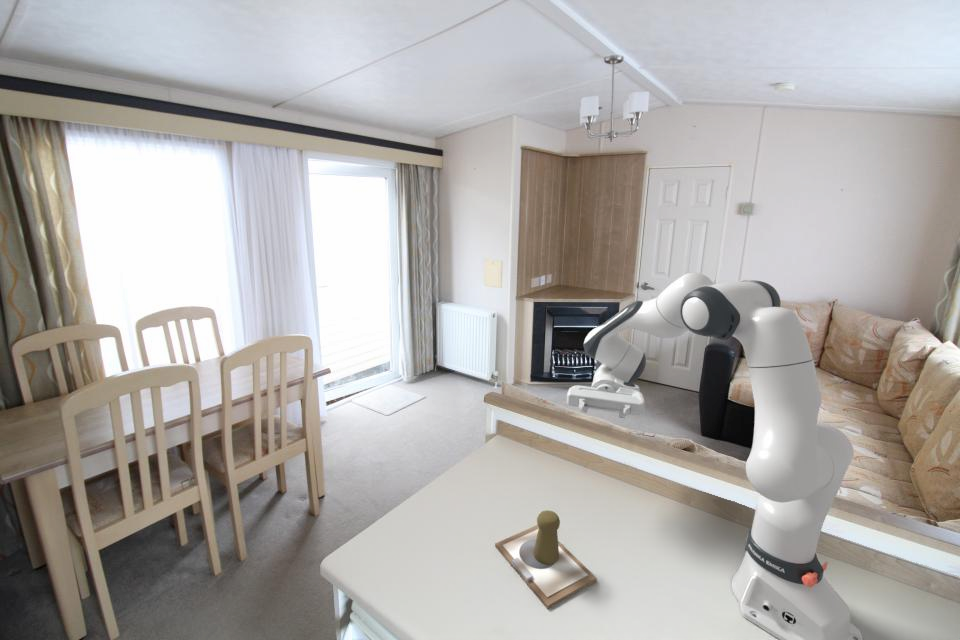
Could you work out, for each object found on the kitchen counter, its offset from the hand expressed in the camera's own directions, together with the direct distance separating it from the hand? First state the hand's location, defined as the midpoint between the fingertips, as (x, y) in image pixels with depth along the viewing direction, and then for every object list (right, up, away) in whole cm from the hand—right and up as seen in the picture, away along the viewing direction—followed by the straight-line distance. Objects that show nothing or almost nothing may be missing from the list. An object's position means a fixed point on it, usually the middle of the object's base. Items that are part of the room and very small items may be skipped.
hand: (602, 412), depth 115 cm
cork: (-16, -32, -9) cm, 37 cm away
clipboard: (-17, -33, -10) cm, 38 cm away
